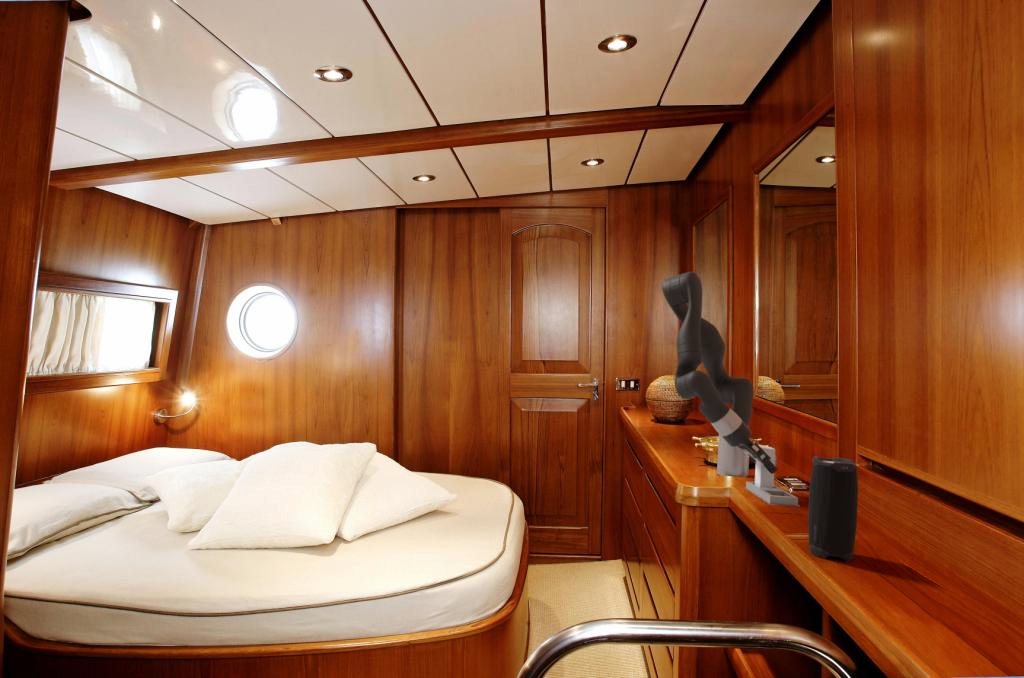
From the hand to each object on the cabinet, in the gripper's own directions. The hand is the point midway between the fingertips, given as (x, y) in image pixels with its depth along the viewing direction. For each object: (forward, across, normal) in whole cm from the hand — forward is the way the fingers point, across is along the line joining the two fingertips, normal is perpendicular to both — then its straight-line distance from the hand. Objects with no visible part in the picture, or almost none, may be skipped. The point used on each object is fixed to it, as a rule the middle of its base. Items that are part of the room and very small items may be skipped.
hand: (768, 468), depth 160 cm
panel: (+5, -4, +6) cm, 9 cm away
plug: (+4, 0, +6) cm, 7 cm away
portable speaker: (+1, -47, +11) cm, 49 cm away
